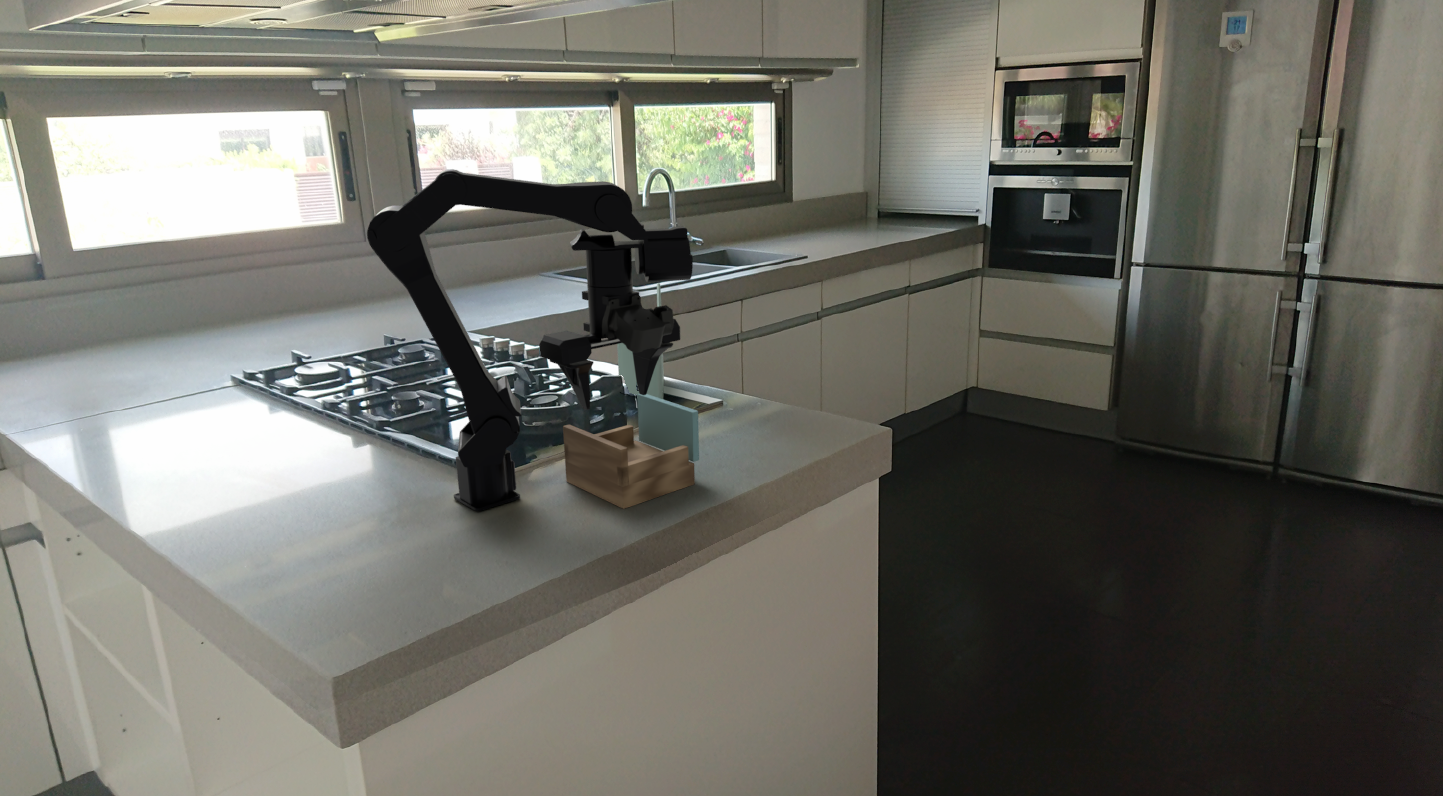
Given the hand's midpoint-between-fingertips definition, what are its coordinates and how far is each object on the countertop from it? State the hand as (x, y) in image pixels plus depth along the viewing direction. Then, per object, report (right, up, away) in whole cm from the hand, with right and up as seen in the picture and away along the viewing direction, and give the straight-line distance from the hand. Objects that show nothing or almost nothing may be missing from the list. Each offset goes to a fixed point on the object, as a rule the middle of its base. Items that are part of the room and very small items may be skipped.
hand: (615, 401), depth 125 cm
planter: (0, +1, +46) cm, 46 cm away
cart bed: (+1, -11, +5) cm, 12 cm away
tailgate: (+6, -7, +8) cm, 12 cm away
